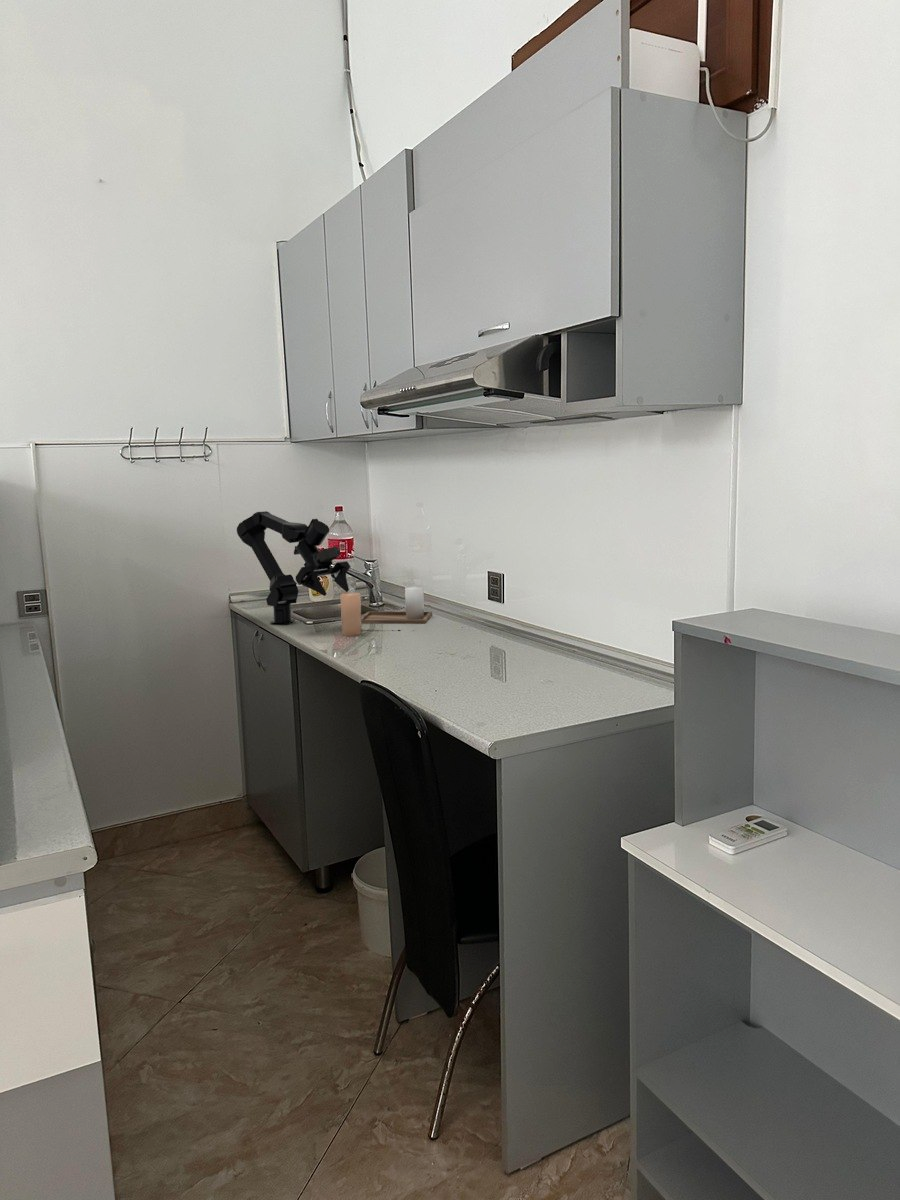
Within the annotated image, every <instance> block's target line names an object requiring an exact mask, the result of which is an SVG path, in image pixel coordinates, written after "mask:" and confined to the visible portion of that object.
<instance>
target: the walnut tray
mask: <svg viewBox="0 0 900 1200" xmlns="http://www.w3.org/2000/svg"><path fill="white" fill-rule="evenodd" d="M432 616H433V611H424V618H420V619H408V618H406V611H367V612H366V613H364V614H363V615H361V625H363V624H366V625H367V624H373V625H374V624H382V625H383V624H387V625H388V624H391V625H392V624H397V625H399V624H401V625H402V624H403V625H405V624H407V625H408V624H411V625H413V624H415V625H423V624H426V623H427V622H428V620H430V618H431V617H432Z"/></svg>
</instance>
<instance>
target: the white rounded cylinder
mask: <svg viewBox="0 0 900 1200" xmlns="http://www.w3.org/2000/svg"><path fill="white" fill-rule="evenodd" d="M404 589H405V590H404V594H405V597H404V598H405V612H406V618H408V619H420V618H424V612H425V609H424V608H425V606H424V605H425V604H424V602H425V601H424V600H425V599H424V596H425V595H424V587H423V586H421V585H420V586H419V585H412V586H405V587H404Z"/></svg>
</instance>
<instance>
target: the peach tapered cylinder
mask: <svg viewBox="0 0 900 1200" xmlns="http://www.w3.org/2000/svg"><path fill="white" fill-rule="evenodd" d="M361 606H362V605H361V593H360V592H354V591H352V592H350V591H348V592H343V593H340V614H341V615H340V616H341V618H340V619H341V636H345V637H357V636H361V635H362V633H363V632H362V624H361V617H362V607H361Z"/></svg>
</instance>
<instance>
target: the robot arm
mask: <svg viewBox="0 0 900 1200" xmlns="http://www.w3.org/2000/svg"><path fill="white" fill-rule="evenodd" d="M267 529H269V530H272V531H274V532H276V533H279V534H280V535H281V537H282V539H283V540H284V541H286V542H287V543H289V544H294V543H298V544H297V545H295V546H294V550H293V554H294V555H300V556H301V558H302V560H303V561H304V562H305V563H304V564H303V566H301V567H300V569H299V570H298V572H297V574H296V575H295V579H294V577H293V575H292V574H291V573H290V574H285V573H284V572H283V570H282V569H281V567H280V565H279V563H278V562H277V560H276V558H275V556H274V555H273V553H272V551H271V550H270V548H269V545H268V544H267V542H266V540H265V538H266V537H265V536H266V530H267ZM236 533H237V536H238V537H239V539H240V540H241V542H242V543H244V545H247V546H248V547H250V548H251V549H252V551H253V553H254V555H255V557H256V559H257V560H258V561H259V564H260V566H261V568H262V569H263V571H264V573H265V575H266V576H267V579H268V580H269V594H268V596H267V597H266V600H265V601H266V605H267V606H270V607H272V609H273V621H271V622H270V624H271V623H284V624H283V625H290V624H292V623H293V622H295V621H296V619H295V618H292V607H291V605H292V604H297V601H298V596H299V588H298V586H297V585H299V586H300V585H301V586H303V587H306V588H308V589H311V590H312V591H315V592H316V593H318V594H320V595H321V596H324V597H325V596H326V595H327V591H326V589H325V587H324V586H323V583H321V581H320V579H319V577H324V576H330V577H332V578H333V581H334V582H335V583H336V584H337V585H338V586H339V587H340V588H341V589H342V590H343V591H344V592H345V593H349V592H350V589H349V585H348V580H347V573H348V571H349V570H350V568H351V564H349V561H347V560H346V561H343V560H342V561H337V562H335V564H334V566H333V567H331V565H332V564H333V563H334V562H333V560H335V559H338V558H339V557H340V556H341V554H342V553H341V550H340V548H339V547H338V545H335V546H331V547H329V548H324V549H321V551H320V549H319V548H318V547H319V546H321V545H322V544H323V542H324V541H325V539H326V537H328V535H329V533H330V527H329V526H328V524H326V523H324V522H323V521H319V519H318V518H312V519H311V521H310V522H309V524H308V525H307V524H306V523H301V522H289V521H287V520H285V519H284V518H281V517H279V516H277V515H275V514H272V513H270V511H267V510H264V511H256V512H255V513H253V514H252V515H251V516H249V517H248V518H246V519H244V520H242V521H241V522H239V523H238V526H237V527H236ZM294 555H293V556H294ZM291 622H292V623H291ZM289 623H290V624H289Z"/></svg>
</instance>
